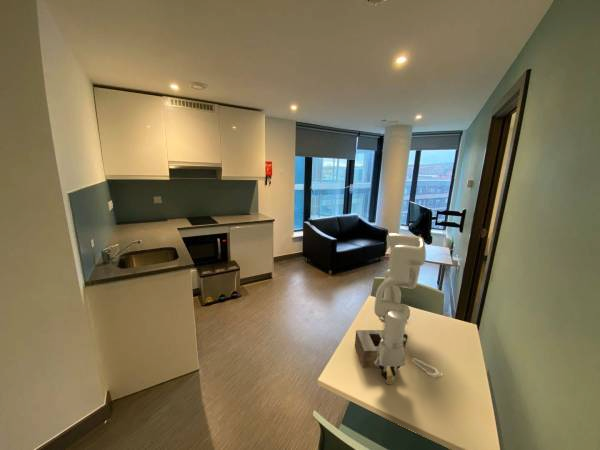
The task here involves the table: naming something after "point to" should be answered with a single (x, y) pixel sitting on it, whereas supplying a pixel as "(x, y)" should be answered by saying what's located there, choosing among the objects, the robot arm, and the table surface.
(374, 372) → the table surface
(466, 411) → the table surface
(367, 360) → the box
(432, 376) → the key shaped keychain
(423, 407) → the table surface
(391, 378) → the wooden block
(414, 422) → the table surface
